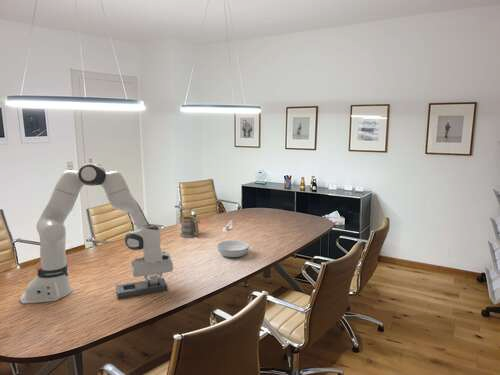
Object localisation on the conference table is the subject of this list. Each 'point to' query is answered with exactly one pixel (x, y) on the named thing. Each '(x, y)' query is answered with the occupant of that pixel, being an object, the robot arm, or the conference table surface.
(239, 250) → the serving bowl
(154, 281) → the wood grain block
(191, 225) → the tankard
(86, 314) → the conference table surface
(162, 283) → the grey slotted board
